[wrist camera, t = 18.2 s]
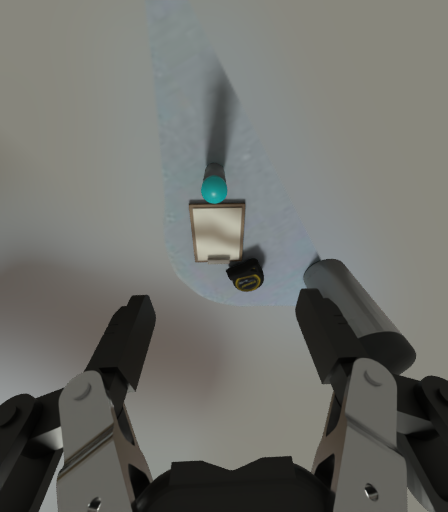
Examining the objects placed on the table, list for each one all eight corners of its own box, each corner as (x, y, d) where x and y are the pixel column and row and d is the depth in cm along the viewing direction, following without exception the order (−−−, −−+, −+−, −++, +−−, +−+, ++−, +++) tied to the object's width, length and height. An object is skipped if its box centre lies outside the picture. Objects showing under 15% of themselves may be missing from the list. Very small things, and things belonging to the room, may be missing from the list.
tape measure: (255, 253, 41) (258, 264, 38) (265, 275, 45) (268, 287, 42) (225, 264, 43) (226, 276, 40) (237, 284, 46) (239, 297, 43)
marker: (228, 170, 31) (232, 189, 24) (216, 185, 32) (215, 208, 25) (213, 156, 30) (212, 171, 22) (200, 172, 31) (195, 192, 24)
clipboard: (241, 259, 42) (242, 264, 40) (195, 260, 41) (195, 265, 40) (244, 202, 34) (246, 206, 33) (189, 203, 34) (188, 207, 33)
